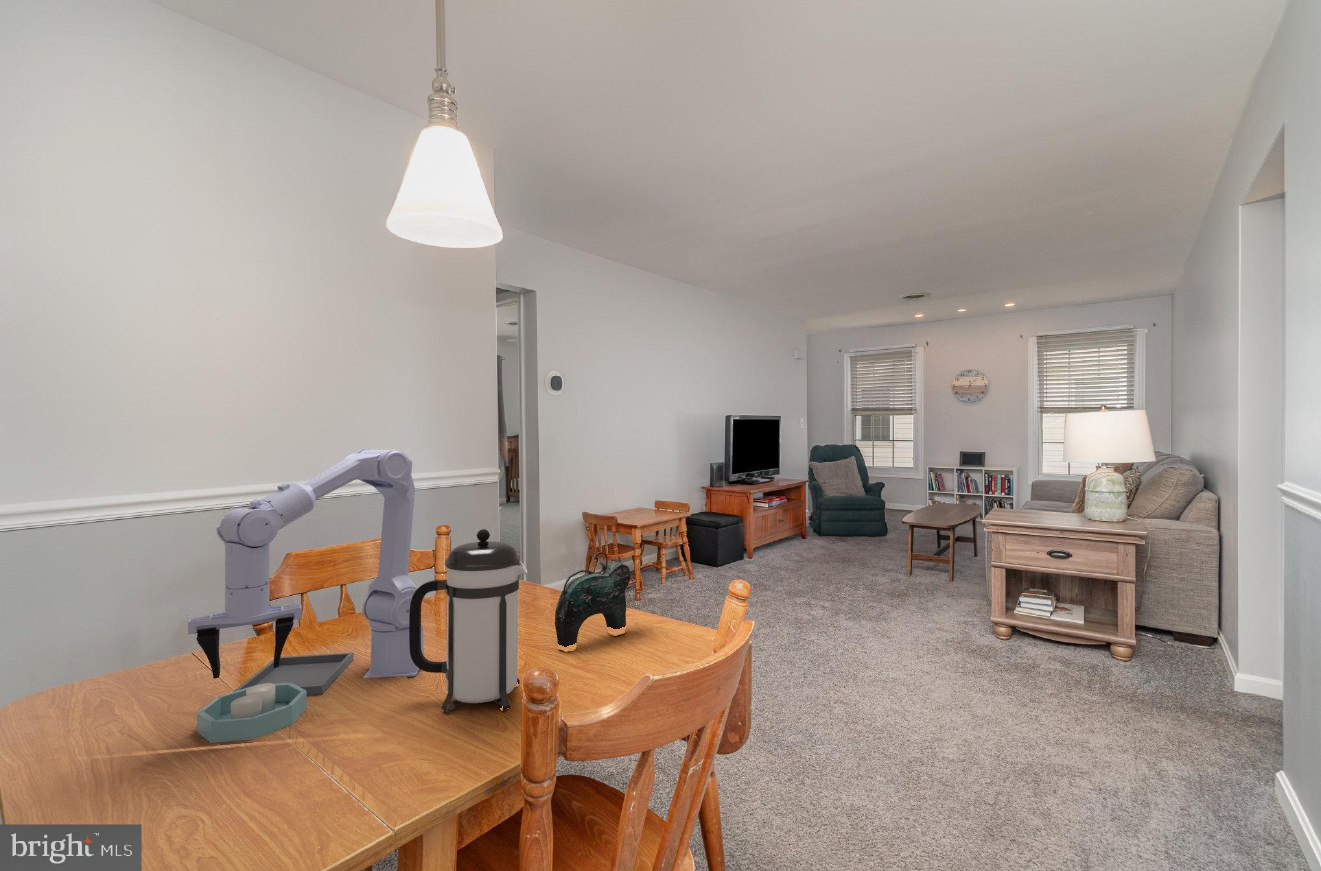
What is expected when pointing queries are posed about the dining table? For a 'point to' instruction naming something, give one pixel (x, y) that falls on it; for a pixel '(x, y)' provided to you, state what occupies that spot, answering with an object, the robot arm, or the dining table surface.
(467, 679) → the coffee press
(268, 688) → the pebble
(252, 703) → the pebble
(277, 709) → the bowl
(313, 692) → the parts tray
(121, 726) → the dining table surface
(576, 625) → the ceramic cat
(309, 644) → the dining table surface
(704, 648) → the dining table surface
